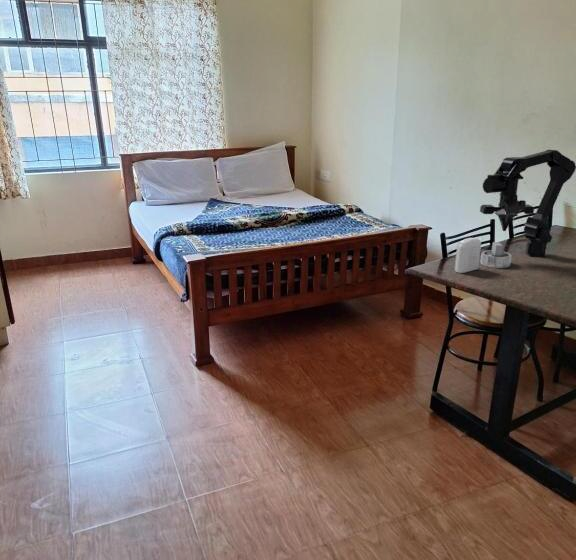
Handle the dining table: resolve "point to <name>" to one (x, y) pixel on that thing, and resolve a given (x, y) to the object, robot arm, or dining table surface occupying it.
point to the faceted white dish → (495, 260)
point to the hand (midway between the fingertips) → (504, 230)
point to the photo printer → (467, 255)
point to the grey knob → (496, 250)
